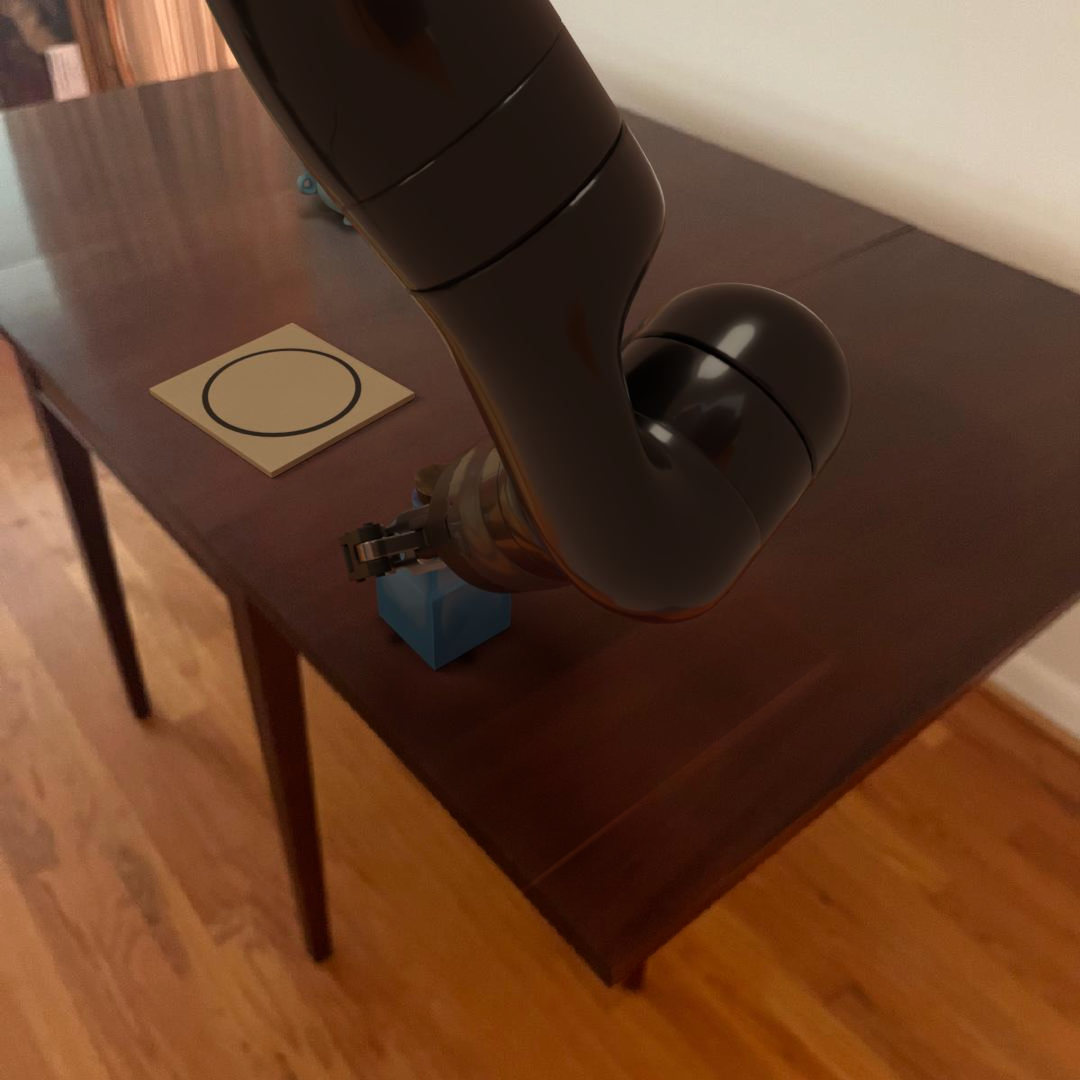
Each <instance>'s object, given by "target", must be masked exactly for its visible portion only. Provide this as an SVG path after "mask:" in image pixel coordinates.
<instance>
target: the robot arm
mask: <svg viewBox="0 0 1080 1080" xmlns="http://www.w3.org/2000/svg"><path fill="white" fill-rule="evenodd" d="M204 1H205V3H206V5H207V7H208V9H209V11H210V14H211V15H212V18H213V19H214V22H215V23H216V25H217V28H218V29H219V31H220V33H221V35H222V37H223V39H224V41H225V43H226V44H227V46H228V48H229V51H230V52H231V54H232V56H233V58H234V60H235V61H236V63H237V65H238V66H239V69H240V70H241V73H242V74H243V75H244V78H245V80H246V81H247V82H248V84H249V85H250V87H251V89H252V91H253V92H254V94H255V95H256V97H257V99H258V100H259V102H260V104H261V106H262V107H263V109H264V110H265V112H266V113H267V114H268V116H269V118H270V119H271V120H272V122H273V124H274V125H275V126H276V128H277V130H278V131H279V133H280V134H281V135H282V137H283V138H284V139H285V141H286V143H287V144H288V145H289V146H290V148H291V149H292V150H293V152H294V153H295V154H296V157H297V156H298V157H299V158H300V160H301V161H302V162H303V164H304V165H305V166H306V168H307V169H308V170H309V172H310V173H311V174H312V176H313V177H314V178H315V179H316V181H317V182H318V183H319V184H320V186H321V187H322V188H323V190H324V191H325V192H326V193H327V195H328V196H329V197H330V198H331V200H332V201H333V202H334V203H335V204H336V205H337V206H338V209H339V210H340V211H341V212H342V213H343V214H342V215H343V216H344V217H346V218H347V219H348V221H349V222H350V223H351V224H352V226H351V227H353V228H354V230H355V231H356V232H357V233H358V234H359V235H360V236H361V238H362V240H364V241H365V243H366V244H367V245H368V246H369V248H370V249H371V250H372V251H373V252H374V254H375V255H376V256H377V257H378V259H379V260H380V261H381V262H382V263H383V265H384V266H385V267H386V268H387V269H388V271H389V272H390V274H392V275H393V277H394V279H396V280H397V281H398V283H399V284H400V285H401V286H402V287H403V288H405V291H406V292H407V294H408V295H409V296H410V297H411V298H412V300H414V302H415V303H416V304H417V306H418V307H419V308H420V309H421V310H422V312H423V314H425V315H426V317H427V319H429V321H430V322H431V324H432V325H433V327H434V328H435V330H436V331H437V333H438V335H439V336H440V337H441V340H442V341H443V343H444V345H445V347H446V349H447V350H448V353H449V354H450V356H451V358H452V360H453V363H454V364H455V366H456V368H457V370H458V372H459V374H460V376H461V378H462V380H463V382H464V384H465V386H466V388H467V390H468V392H469V395H470V396H471V398H472V400H473V403H474V404H475V407H476V409H477V411H478V413H479V414H480V417H481V419H482V421H483V424H484V425H485V427H486V430H487V432H488V434H487V435H486V436H484V437H483V438H482V439H480V440H479V441H477V442H476V443H474V444H473V445H472V446H470V447H468V448H467V449H465V450H464V451H463V452H461V453H460V454H458V455H457V456H456V457H455V458H453V460H451V461H450V462H449V463H448V464H449V465H448V466H447V467H446V468H445V470H444V471H443V472H442V474H441V476H440V477H439V479H438V481H437V483H436V485H435V488H434V490H433V493H432V497H431V501H430V504H427V505H423V506H420V507H417V508H413V507H412V508H410V509H407V510H404V511H400V512H398V514H396V517H395V519H396V522H395V523H394V524H393V525H391V524H389V525H385V524H384V523H380V522H379V523H373V521H370V522H366V523H362V526H361V527H358V528H355V529H353V530H352V531H349V532H346V533H344V535H341V536H340V537H338V541H339V545H340V547H341V549H342V554H343V557H344V562H345V565H346V568H347V577H348V580H349V583H351V582H355V581H356V584H359V583H362V582H366V581H367V578H371V577H375V579H376V578H378V577H382V576H386V574H385V573H387V575H391V574H395V573H396V570H400V569H404V568H406V569H408V571H409V572H410V573H411V574H413V575H418V574H422V573H426V572H430V571H434V570H438V569H442V568H446V567H449V568H450V569H451V570H452V571H453V572H454V573H455V574H456V575H457V576H458V577H460V578H461V579H462V580H464V581H465V582H467V583H468V584H470V585H472V586H474V587H476V588H479V589H481V590H484V591H488V592H492V593H500V594H511V595H512V594H521V593H530V592H531V593H532V592H539V591H549V590H557V589H558V590H559V589H562V588H567V587H569V586H574V587H575V589H577V591H579V592H580V593H581V594H582V595H583V596H585V597H586V598H587V599H589V600H590V601H592V602H593V603H595V604H596V605H597V606H599V607H601V608H603V609H604V610H606V611H608V612H610V613H613V614H615V615H617V616H620V617H622V618H624V619H627V620H631V621H635V622H639V623H643V624H650V625H674V624H680V623H684V622H688V621H692V620H694V619H696V618H698V617H701V616H703V615H704V614H706V613H707V612H709V611H710V610H712V609H714V607H715V606H717V605H718V604H719V603H720V602H721V601H722V600H723V599H724V598H725V597H726V596H727V595H728V594H730V592H731V591H732V590H733V588H734V587H735V585H737V583H738V582H739V581H740V580H741V579H742V577H743V576H744V575H745V574H746V572H747V571H748V570H749V568H750V567H751V565H752V563H753V562H754V561H755V560H756V558H757V557H758V556H759V554H760V553H761V551H763V549H764V547H765V546H766V545H767V544H768V542H769V541H770V540H771V539H772V537H773V536H774V534H775V533H776V532H777V531H778V529H779V528H780V527H781V525H782V524H783V523H784V521H786V519H787V518H788V516H789V515H790V513H792V511H793V510H794V509H795V507H796V506H797V504H798V503H799V502H800V501H801V499H802V498H803V497H804V495H806V493H807V492H808V490H809V489H810V487H811V486H812V485H813V484H814V483H815V481H816V480H817V478H818V477H819V476H820V474H821V473H822V472H823V471H824V469H825V468H826V467H827V466H828V464H829V463H830V461H831V460H832V459H833V457H834V455H835V454H836V452H837V450H838V448H839V447H840V445H841V443H842V441H843V439H844V437H845V435H846V432H847V429H848V425H849V422H850V419H851V416H852V410H853V379H852V374H851V369H850V367H849V363H848V361H847V357H846V356H845V353H844V351H843V349H842V347H841V345H840V343H839V340H838V339H837V337H836V336H835V335H834V333H833V332H832V330H831V329H830V328H829V326H827V324H825V323H826V322H824V321H823V320H822V319H821V318H820V317H819V316H818V315H817V314H816V313H815V312H814V311H812V310H811V309H810V308H808V307H807V306H806V305H804V304H803V303H802V302H800V301H798V300H797V299H795V298H793V297H791V296H789V295H787V294H785V293H782V292H780V291H777V290H775V289H772V288H768V287H765V286H762V285H757V284H752V283H744V282H730V281H729V282H713V283H708V284H702V285H698V286H694V287H691V288H688V289H686V290H683V291H680V292H678V293H676V294H674V295H673V296H671V297H669V298H668V299H666V300H664V301H662V303H660V304H659V305H658V306H656V307H655V308H654V309H653V310H652V311H650V312H649V313H648V314H647V315H646V316H644V317H643V319H642V320H640V321H639V322H638V323H637V324H636V325H634V327H633V328H632V329H631V330H630V331H628V333H627V334H626V335H624V330H625V325H626V321H627V317H628V316H629V312H630V310H631V307H632V305H633V303H634V300H635V298H636V295H637V294H638V291H639V289H640V287H641V285H642V283H643V281H644V279H645V277H646V275H647V274H648V273H647V272H648V271H649V269H650V266H651V264H652V261H653V260H654V257H655V255H656V252H657V250H658V248H659V245H660V244H661V240H662V237H663V235H664V231H665V228H666V227H665V226H666V221H667V219H666V218H667V205H666V198H665V195H664V190H663V188H662V186H661V182H660V180H659V178H658V176H657V174H656V172H655V170H654V168H653V166H652V164H651V162H650V160H649V159H648V157H647V155H646V153H645V151H644V149H642V147H641V145H640V143H639V141H638V139H637V138H636V137H635V135H634V133H633V132H632V131H631V128H630V127H629V126H628V124H627V122H626V120H625V119H624V118H623V117H622V115H621V113H620V111H619V109H618V108H617V106H616V105H615V103H614V102H613V100H612V99H611V97H610V95H609V93H608V92H607V90H606V89H605V87H604V86H603V84H602V82H601V81H600V80H599V77H598V75H596V73H595V71H594V70H593V68H592V67H591V65H590V63H589V62H588V60H587V59H586V57H585V55H584V53H583V52H582V51H581V49H580V47H579V46H578V44H577V43H576V41H575V39H574V37H573V36H572V34H571V33H570V31H569V30H568V28H567V26H566V25H565V23H564V22H563V21H562V17H561V16H560V15H559V13H558V11H557V10H556V8H555V7H554V5H553V4H552V2H551V0H204ZM298 157H297V158H298ZM623 335H624V336H623ZM396 533H398V535H395V534H396ZM400 553H405V557H404V559H403V560H401V557H400ZM438 557H440V558H441V559H435V558H438Z"/></svg>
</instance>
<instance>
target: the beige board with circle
mask: <svg viewBox="0 0 1080 1080" xmlns="http://www.w3.org/2000/svg"><path fill="white" fill-rule="evenodd" d="M148 389H149V394H150V395H151V396H152V397H153V398H155V399H157V400H158V401H159V402H161V403H162V404H163V405H165V406H167V407H168V408H169V409H171V410H172V411H174V412H175V413H177V414H178V415H180V416H181V417H182V418H184V419H185V420H187V421H188V422H190V423H191V424H193V425H194V426H196V427H197V428H198V429H200V430H201V431H203V432H204V433H205V434H207V435H209V436H210V437H211V438H213V439H214V440H216V441H217V442H218V443H220V444H221V445H223V446H225V447H226V448H228V450H230V451H232V452H233V453H234V454H236V455H237V456H239V457H240V458H242V459H243V460H245V461H246V462H247V463H249V464H250V465H252V466H253V467H254V468H256V469H258V470H259V471H260V472H262V473H264V474H265V475H266V476H267V477H269V478H271V479H273V478H275V477H277V476H279V475H281V474H282V473H284V472H286V471H288V470H289V469H291V468H293V467H295V466H296V465H298V464H301V463H303V462H304V461H306V460H308V459H310V458H311V457H313V456H314V455H316V454H318V453H319V452H322V451H324V450H325V449H327V448H329V447H331V446H332V445H334V444H336V443H338V442H339V441H341V440H343V439H345V438H347V437H348V436H350V435H352V434H354V433H355V432H358V431H359V430H360V429H362V428H364V427H366V426H368V425H370V424H372V423H373V422H375V421H377V420H380V418H382V417H384V416H386V415H388V414H389V413H391V412H393V411H395V410H397V409H398V408H400V407H402V406H404V405H405V404H407V403H409V402H410V401H412V400H414V399H415V397H416V396H415V395H416V394H415V392H414V391H413V390H411V389H410V388H407V387H405V386H404V385H402V384H401V383H399V382H397V381H396V380H393V379H392V378H390V377H388V376H386V375H385V374H383V373H382V372H379V371H378V370H376V369H375V368H372V367H371V366H369V365H367V364H366V363H363V362H362V361H361V360H359V359H357V358H355V357H353V356H352V355H349V354H348V353H346V352H345V351H343V350H341V349H339V348H337V347H336V346H335V345H333V344H330V343H329V342H328V341H325V340H324V339H322V338H320V337H319V336H317V335H315V334H313V333H311V332H310V331H308V330H306V329H305V328H303V327H301V326H299V325H298V324H296V323H294V322H291V323H288V324H285V325H283V326H281V327H280V328H277V329H275V330H273V331H270V332H268V333H267V334H264V335H262V336H260V337H258V338H256V339H253V340H251V341H249V342H247V343H244V344H243V345H240V346H238V347H236V348H234V349H231V350H229V351H227V352H225V353H223V354H221V355H219V356H217V357H214V358H212V359H210V360H207V361H205V362H204V363H201V364H198V365H197V366H195V367H193V368H190V369H187V370H186V371H184V372H182V373H180V374H178V375H175V376H174V377H171V378H169V379H167V380H165V381H162V382H160V383H158V384H156V385H153V386H152V387H149V388H148Z"/></svg>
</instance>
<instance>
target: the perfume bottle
mask: <svg viewBox="0 0 1080 1080" xmlns="http://www.w3.org/2000/svg"><path fill="white" fill-rule="evenodd" d="M449 464H450V463H432V464H429V465H426V466H423V467H422V468H421V469H419V470H418V471H417V472H416V473H415V475H414V477H413V484H414V487H415V488H414V489H413V491H412V494H411V502H412V503H411V507H412V509H413V508H417V507H420V506H423V505H427V504H430V501H431V497H432V493H433V490H434V488H435V485H436V483H437V481H438V479H439V477H440V476H441V474H442V472H443V471H444V470H445V468H446V467H447V466H448V465H449ZM395 522H396V518H395V519H394V520H393V522H392V523H391V524H390V525H393V524H394V523H395ZM395 535H398V533H396V534H395ZM400 557H401V560H403V559H404V557H405V553H400ZM435 559H441V558H440V557H438V558H435ZM385 574H386V576H382V577H378V578H376V577H375V583H376V594H377V595H376V596H377V605H378V606H377V607H378V615H379V617H381V619H383V620H384V622H385V623H387V625H389V627H390V628H391V629H392V630H393V631H394V632H395V633H397V635H398V636H399V637H400V638H401V639H402V640H403V641H404V642H405V643H407V645H408V646H409V647H410V648H411V649H412V650H413V651H414V652H415V653H416V654H417V655H418V656H419V657H420V658H421V659H422V660H423V661H424V662H425V663H426V664H427V665H428V666H429V667H430V668H431V669H432V670H433V671H436V670H439V669H440V668H442V667H443V666H445V665H447V664H448V663H450V662H452V661H454V660H455V659H457V658H459V657H461V656H462V655H464V654H466V653H468V652H469V651H471V650H472V649H474V648H476V647H478V646H480V645H481V644H483V643H484V642H486V641H488V640H489V639H491V638H493V637H495V636H496V635H498V634H500V633H502V632H503V631H505V630H507V629H508V628H511V613H512V593H511V594H500V593H492V592H488V591H484V590H481V589H479V588H476V587H474V586H472V585H470V584H468V583H467V582H465V581H464V580H462V579H461V578H460V577H458V576H457V575H456V574H455V573H454V572H453V571H452V570H451V569H450V568H449V567H446V568H442V569H438V570H434V571H430V572H426V573H422V574H418V575H413V574H411V573H410V572H409V571H408V569H406V568H404V569H400V570H396V573H395V574H391V575H387V573H385Z"/></svg>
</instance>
